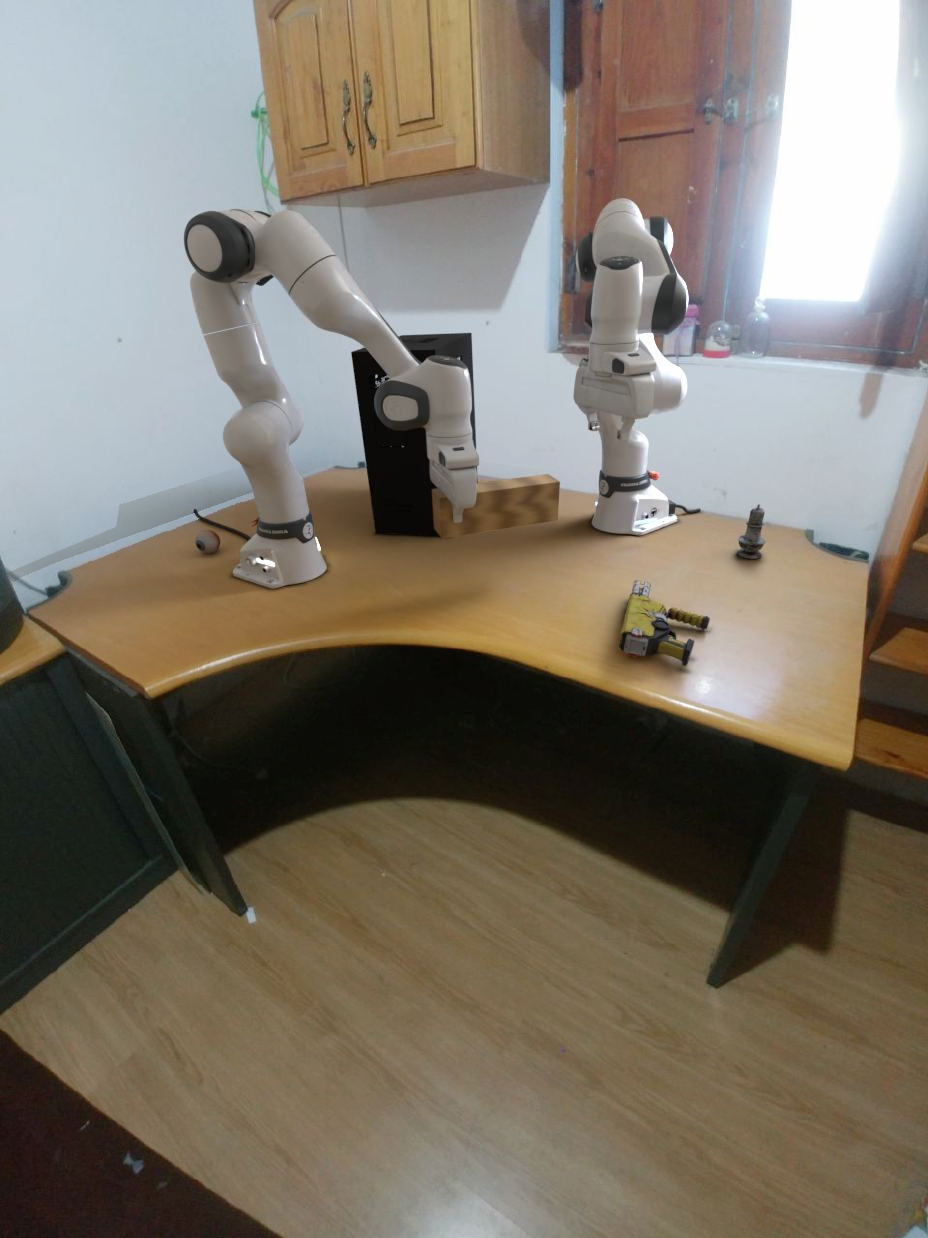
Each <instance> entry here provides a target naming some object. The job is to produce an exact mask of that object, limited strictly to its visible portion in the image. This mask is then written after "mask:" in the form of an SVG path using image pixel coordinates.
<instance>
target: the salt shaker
mask: <svg viewBox="0 0 928 1238" xmlns="http://www.w3.org/2000/svg"><path fill="white" fill-rule="evenodd" d="M764 517H765V510H764V509H763V508H762V507H761V504H760V503H759V504H757V505H756V507H754V508H751V510H750V511H749V517H748V521H746V523H745V524H746V530H745V533H744V534H742V535H740V536H738V537H737V541H738V545H739V547H740V549H738V550H737V551H736V555H737V556H739V557H741V558H743V559H748V560H749V559H750V560H756V559H760V558H761V557H762V556H763V554H762V553H761V552H760V550H762V548H763V547H764V545H765V544H766V543H767V540H766V539H765V538H764V537H763V536H762V529H763V527H764V526H765V524H764Z"/></svg>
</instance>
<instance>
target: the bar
mask: <svg viewBox="0 0 928 1238" xmlns="http://www.w3.org/2000/svg"><path fill="white" fill-rule="evenodd" d="M560 487H561V481H560V480H558V479H556V478H555V477H554V476H552V475H551V474H549V473H545V474H538V475H529V476H524V477H523V476H522V477H521V476H520V477H514V478H507V479H500V480H492V481H483V482H478V483H477V492H476V502H475V505H474V507H472V508H467V509H464V510H463V514H462V522H460V523H454V521H453V520H452V513H453V506H452V503H451V502H450V501H449V500H448V498H447V496H446V495H445V494H444V493H443V492H442V491H441V490H440V489H439V488H436V489H432V501H433V519H434V529H435V530H436V531H437V533H438V534H439V535H440V536H439V537H440V538H441V539H445V538H453V537H459V536H465V535H466V536H467V535H472V534H478V533H486V532H492V531H498V530H506V529H511V528H518V527H519V528H520V527H525V526H532V525H538V524H545V523H551V522H558V521H559V507H560V489H561V488H560Z"/></svg>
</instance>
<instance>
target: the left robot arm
mask: <svg viewBox="0 0 928 1238" xmlns="http://www.w3.org/2000/svg"><path fill="white" fill-rule="evenodd" d="M183 246H184V251H185V253H186V254H185V255H186V257H187V259H188V261H189V263H190V265H191V266H192V267H193V269H194V272H193V273H192V274H191V276H190V279H189V287H190V292H191V299H192V302H193V303H192V304H193V307H194V310H195V315H196V318H197V321H198V324H199V327H200V328H199V329H200V331H201V333H202V335H203V339H204V341H205V344H206V347H207V350H208V352H209V355H210V358H211V360H212V363H213V365H214V368H215V371H216V374H217V375H218V378H219V379H220V380H221V381H222V382H223V383H225V384H226V385H227V386H228V387H229V388H230V390H231V391H232V393H233V395H234V396H235V397H236V399H237V401H238V402H239V404H240V407H241V408H240V409H238V410H237V411H235V412H233V414H232V416H231V417H230V418H229V419H228V421H227V422H226V424H225V426H224V427H223V430H222V441H223V444H224V447H225V449H226V451H227V452H228V453H229V455H230V456H231V457H232V458H233V459H234V460H235V461H237V462H238V463H239V465H240V466H241V468H242V470H243V471H244V473H245V475H246V477H247V479H248V482H249V484H250V487H251V489H252V494H253V497H254V502H255V505H256V509H257V514H258V517H257V518H256V519H254V520H252V521H251V522H250V523H251V527H253V528H254V527H255V526H256V532H255V534H253V536H252V537H251V536H249V535H248V534H246V533H244V532H242V531H240V530H238V529H236V528H233V527H231V526H227V525H225V524H222V523H219V522H216V521H213V520H210V519H208V518H205V517H203V516H202V515H200V513H199V512H198V510H197V509H196V508H194V509H193V514H194V516H195V517H196V518H197V519H199V520H200V521H203V522H205V523H207V524H209V525H212V526H216V527H218V528H221V529H223V530H227V531H230V532H232V533H235V534H237V535H239V536H241V537H243V539H244V538H245V539H246V540H247V541H246V542H245V543H244V544H243V545H242V547H241V548H240V551H239V562H240V563H239V564H237V565H235V567H234V569H233V570H232V576H233V577H235V578H238V579H241V580H244V581H247V582H250V583H253V584H256V585H259V586H262V587H265V588H267V589H272V590H273V589H274V590H275V589H278V588H282V587H285V586H289V585H296V584H301V583H306V582H309V581H312V580H314V579H316V578H318V577H320V576H322V575H323V574H324V573H325V572H326V571H327V567H328V566H327V563H326V561H325V560H324V557H323V554H322V553H321V546H320V543H319V541H318V538H317V537H316V535H315V524H314V519H313V515H312V514H313V513H312V511H311V510H310V507H309V503H308V498H307V492H306V486H305V482H304V479H303V476H301V474H300V473H298V471H297V468H296V467H295V465H294V463H293V460H292V458H291V454H290V450H289V447H290V446H291V445H293V444H294V443H295V442H296V441H297V440H298V439H299V437H300V435H301V433H302V431H303V429H304V424H305V416H304V413H303V410H302V408H301V407H300V405H299V403H297V402H296V401H295V400H294V399H293V398H292V396H291V394H290V392H289V391H288V389H287V387H286V385H285V383H284V382H283V380H282V378H281V376H280V374H279V373H278V370H277V368H276V365H275V364H274V363H275V362H274V361H273V358H272V356H271V353H270V349H269V347H268V343H267V341H266V338H265V335H264V332H263V329H262V326H261V323H260V319H259V317H258V314H257V312H256V308H255V306H254V301H253V290H254V287H255V285H257V286H259V287H263V286H265V285H266V284H267V283H268V282H270V281H271V280H273V279H274V278H275V279H276V280H277V282H278V283H279V284H280V286H281V287H282V288H283V290H284V291H285V292H286V294H287V295H288V297H289V298H290V299H291V300H292V303H293V304H294V305H295V306H296V307H297V309H298V310H299V311H300V312H301V314H303V315H304V317H305V318H306V319H307V320H308V321H310V322H311V323H312V324H313V325H314V326H316V328H317V329H318V328H319V329H321V330H323V331H325V332H326V331H327V332H331V333H335V334H338V335H341V336H344V337H347V338H350V339H351V340H354V341H356V342H357V343H358V344H360V345H361V346H363V348H366V349H367V350H368V351H369V353H370V354H371V355H372V356H373V357H374V359H375V360H376V361H377V362H378V364H379V365H380V366H381V367H382V368H383V370H384V371H385V372H386V373H387V374H388V375H387V376H389V378H390V379H388V380H387V381H385V382H384V383H383V384H381V385H379V386H380V387H379V388H378V389H377V391H376V394H375V399H374V404H375V410H376V413H377V415H378V417H379V419H380V420H381V421H382V423H383V424H384V425H386V426H387V427H388V428H390V429H393V430H409V429H414V428H419V427H424V428H425V429H426V441H427V457H428V458H429V459H430V478H431V481H432V482H433V483H434V484H435V486H436V487H437V488H439V489H440V490H441V491H442V492H443V493H444V494H445V495H446V496H447V498H448V500H449V501H450V502H451V503H452V506H453V513H452V520H453V521H454V523H460V522H462V514H463V510H464V509H467V508H472V507H474V505H475V502H476V492H477V479H478V470H477V471H476V468H475V466H477V467H479V466H480V456H479V453H478V451H477V448H476V449H475V447H474V444H473V440H472V427H471V423H470V414H471V410H472V394H471V382H470V375H469V371H468V368H467V366H466V365H465V364H464V363H463V362H462V361H461V360H460V358H459V359H458V358H453V357H449V356H439V355H435V356H430V357H428V358H427V359H426V360H425V361H424V362H423V363H421V362H420V361H419V360H417V359H416V358H415V357H414V355H413V354H412V353H411V352H410V351H409V349H408V348H407V347H406V346H405V344H404V343H403V342H402V340H401V339H400V338H399V337H398V336H399V335H398V334H397V333H396V331H394V329H393V328H392V326H391V325H390V324H389V322H388V321H387V320H386V319H385V318H384V317H383V315H382V313H380V312H379V311H378V310H377V309H376V307H375V306H374V304H373V303H372V302H371V301H370V299H369V298H368V297H367V296H366V295H365V294H364V292H363V290H362V289H361V288H360V286H359V285H358V283H357V282H356V281H355V279H354V278H353V276H352V275H351V274H350V272H349V271H348V269H347V268H346V267H345V265H344V263H342V261H341V259H340V258H339V257H338V255H337V253H335V251H334V250H333V248H332V247H331V246H330V245H329V244H328V242H327V241H326V240H325V238H324V237H323V236H322V235H321V234H320V232H318V230H317V229H316V228H315V227H314V226H313V225H312V224H311V223H310V222H309V221H308V220H307V219H306V218H305V217H304V216H303V215H301V213H299V212H297V211H295V210H291V209H283V210H280V211H278V212H275V213H274V214H271V213H267V212H265V211H261V210H250V209H248V210H247V209H241V208H231V209H226V210H219V211H216V210H207V211H204V212H201V213H197V214H196V215H194V216H193V217H192V218H190V220H188V222H187V223H186V225H185V228H184V232H183Z"/></svg>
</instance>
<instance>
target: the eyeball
mask: <svg viewBox="0 0 928 1238" xmlns="http://www.w3.org/2000/svg"><path fill="white" fill-rule="evenodd" d="M194 543H195V546H196V548H197V549H198V550H199V551H200V552H201V553H204V554H212V553H215V552H217V550H219V548H220V547H221V537H220V536H219V534H218V533H217V532H215V531H214V530H212V529H202V530H201V531H199V532H198V533H197V534H196V536H195V538H194Z"/></svg>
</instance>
